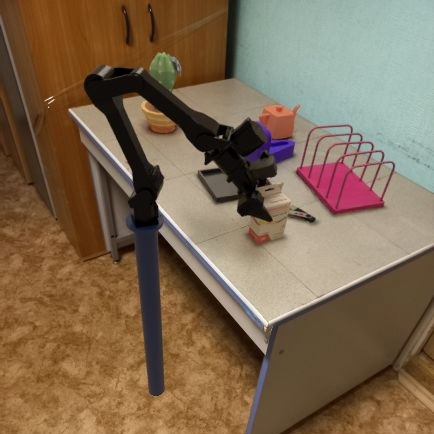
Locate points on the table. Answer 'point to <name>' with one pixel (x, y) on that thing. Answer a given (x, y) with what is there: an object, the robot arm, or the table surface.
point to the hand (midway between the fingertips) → (272, 210)
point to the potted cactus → (166, 75)
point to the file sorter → (343, 178)
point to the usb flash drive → (300, 214)
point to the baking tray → (220, 185)
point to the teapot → (278, 120)
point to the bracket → (273, 148)
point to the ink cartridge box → (277, 209)
